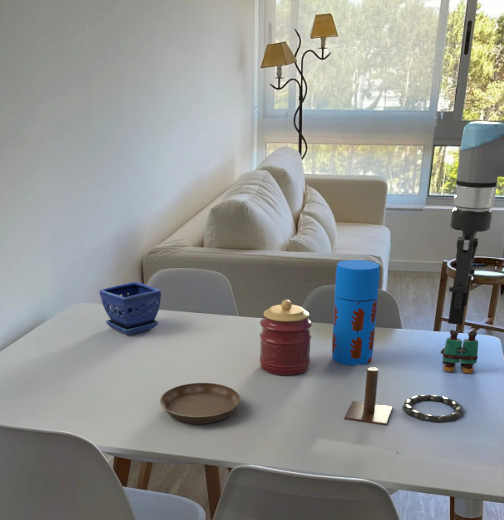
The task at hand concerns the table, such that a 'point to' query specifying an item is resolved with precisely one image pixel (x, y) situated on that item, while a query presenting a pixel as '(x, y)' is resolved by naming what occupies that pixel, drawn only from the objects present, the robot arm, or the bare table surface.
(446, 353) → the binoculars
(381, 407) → the stand
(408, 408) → the ring
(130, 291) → the flower pot
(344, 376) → the table surface
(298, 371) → the kitchen canister
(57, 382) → the table surface
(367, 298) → the thermos
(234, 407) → the plant saucer
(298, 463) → the table surface
